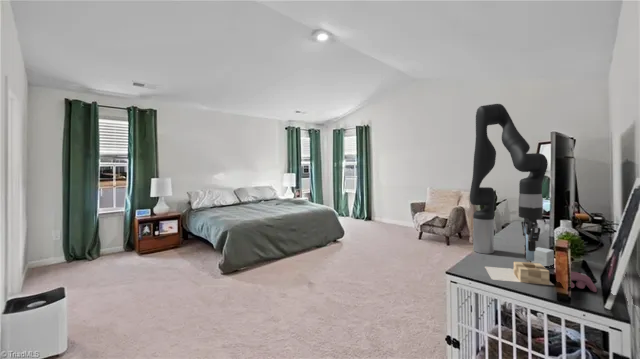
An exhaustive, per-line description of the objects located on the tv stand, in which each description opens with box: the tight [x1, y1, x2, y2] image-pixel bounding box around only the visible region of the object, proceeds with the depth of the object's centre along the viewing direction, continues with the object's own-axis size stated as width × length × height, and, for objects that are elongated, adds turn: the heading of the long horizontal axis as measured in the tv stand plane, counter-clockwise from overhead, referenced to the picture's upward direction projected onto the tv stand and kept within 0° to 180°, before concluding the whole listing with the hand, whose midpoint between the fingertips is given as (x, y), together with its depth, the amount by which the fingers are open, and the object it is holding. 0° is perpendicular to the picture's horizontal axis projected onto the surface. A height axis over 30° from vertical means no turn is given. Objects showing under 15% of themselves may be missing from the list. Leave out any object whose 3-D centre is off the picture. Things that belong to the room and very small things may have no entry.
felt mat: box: [484, 266, 554, 286], centre depth 116 cm, size 15×20×1 cm
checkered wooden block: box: [513, 261, 550, 286], centre depth 112 cm, size 9×9×5 cm
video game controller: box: [570, 271, 598, 293], centre depth 103 cm, size 10×5×7 cm, turn 77°
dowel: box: [525, 232, 534, 262], centre depth 111 cm, size 3×3×12 cm
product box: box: [530, 246, 555, 266], centre depth 126 cm, size 6×6×7 cm
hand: (530, 249), depth 111 cm, fingers closed on dowel, 2 cm apart
